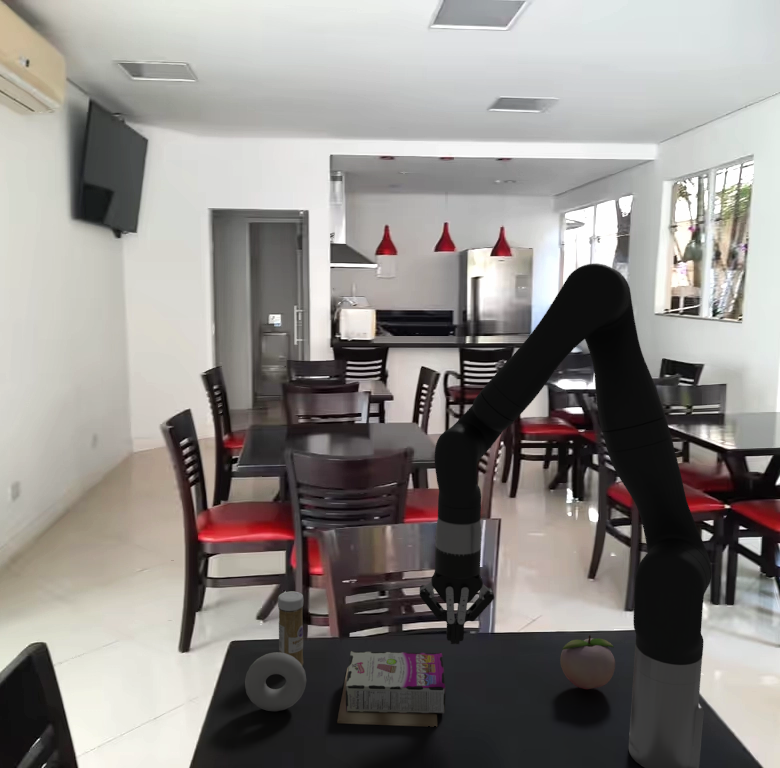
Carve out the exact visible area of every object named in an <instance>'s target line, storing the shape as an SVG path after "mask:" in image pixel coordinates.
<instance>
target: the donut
mask: <svg viewBox="0 0 780 768" xmlns="http://www.w3.org/2000/svg"><path fill="white" fill-rule="evenodd" d="M272 675H280V676H282V677H283V678H284V679H285V684H284V685H283V686H282V687H280V688H276V689H275V688H270V687H269V686H268V685H267V683H266V681H267V679H268V678H269V677H270V676H272ZM306 685H307V676H306V670H305V669H304V667H303V665H301V663H300V662H299V661H298V660H297V659H295V658H294V657H293V656H291V655H288V654H286V653H280V651H279V652H277V651H276V652H269V653H266V654H264V655H262V656H260V657H258V658H257V659H255V661H254V662H253V663H252V664H251V665H250V666H249V668H248V670H247V672H246V674H245V679H244V687H245V692H246V693H245V694H246V695H247V697H248V698H249V700H250V702H251V703H253V704H254V705H255V706H256V707H257V708H259V709H262V710H265V712H267V711H268V712H279V711H284V710H287V709H289V708H290V707H292V706H294V705H295V704H296V703H297V702H298V701H299V700H300V699H301V698H302V696H303V694H304V692H305V689H306Z"/></svg>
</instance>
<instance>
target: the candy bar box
mask: <svg viewBox="0 0 780 768" xmlns="http://www.w3.org/2000/svg"><path fill="white" fill-rule="evenodd" d="M348 661H349V662H348V675H347V682H346V712H394V713H437V714H439V715H440V714H445V713H446V712H445V711H446V695H447V693H446V677H445V668H444V667H445V666H444V657H443V653H442V652H405V651H404V652H403V651H401V652H400V651H399V652H394V651H393V652H392V651H354V650H353V651H352V650H351V651H350V654H349V660H348Z"/></svg>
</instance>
